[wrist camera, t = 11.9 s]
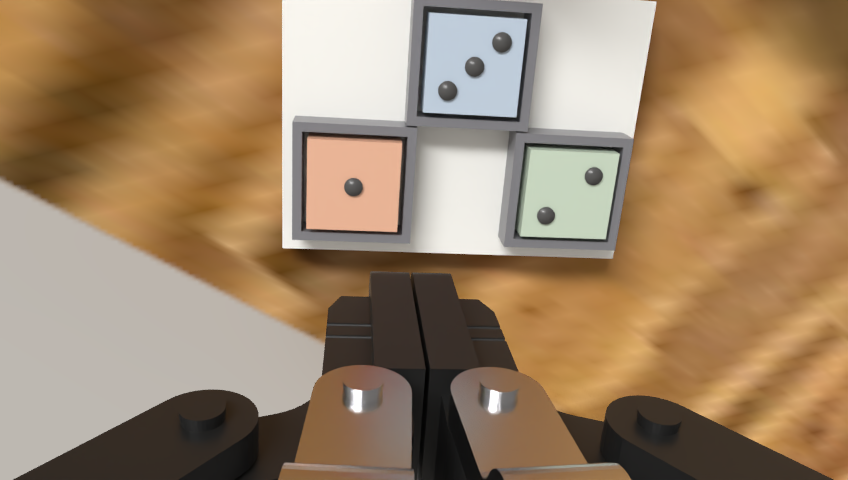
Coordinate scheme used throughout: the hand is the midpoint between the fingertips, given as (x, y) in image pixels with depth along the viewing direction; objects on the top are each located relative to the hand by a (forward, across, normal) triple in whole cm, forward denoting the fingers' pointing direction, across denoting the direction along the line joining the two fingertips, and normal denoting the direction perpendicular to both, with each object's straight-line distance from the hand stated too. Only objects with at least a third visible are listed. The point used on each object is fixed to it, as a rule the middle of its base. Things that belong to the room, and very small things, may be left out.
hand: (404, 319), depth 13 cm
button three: (+27, -5, -2) cm, 27 cm away
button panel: (+29, -5, +2) cm, 29 cm away
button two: (+27, -11, +4) cm, 29 cm away
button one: (+27, +1, +4) cm, 27 cm away
